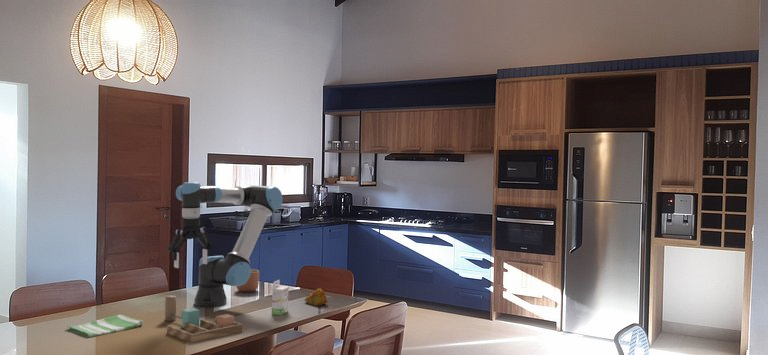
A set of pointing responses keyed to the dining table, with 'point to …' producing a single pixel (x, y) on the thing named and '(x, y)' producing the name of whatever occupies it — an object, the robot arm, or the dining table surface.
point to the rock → (316, 298)
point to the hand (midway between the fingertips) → (190, 265)
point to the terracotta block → (225, 320)
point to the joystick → (187, 314)
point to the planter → (250, 282)
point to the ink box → (279, 299)
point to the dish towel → (106, 326)
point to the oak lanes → (203, 330)
